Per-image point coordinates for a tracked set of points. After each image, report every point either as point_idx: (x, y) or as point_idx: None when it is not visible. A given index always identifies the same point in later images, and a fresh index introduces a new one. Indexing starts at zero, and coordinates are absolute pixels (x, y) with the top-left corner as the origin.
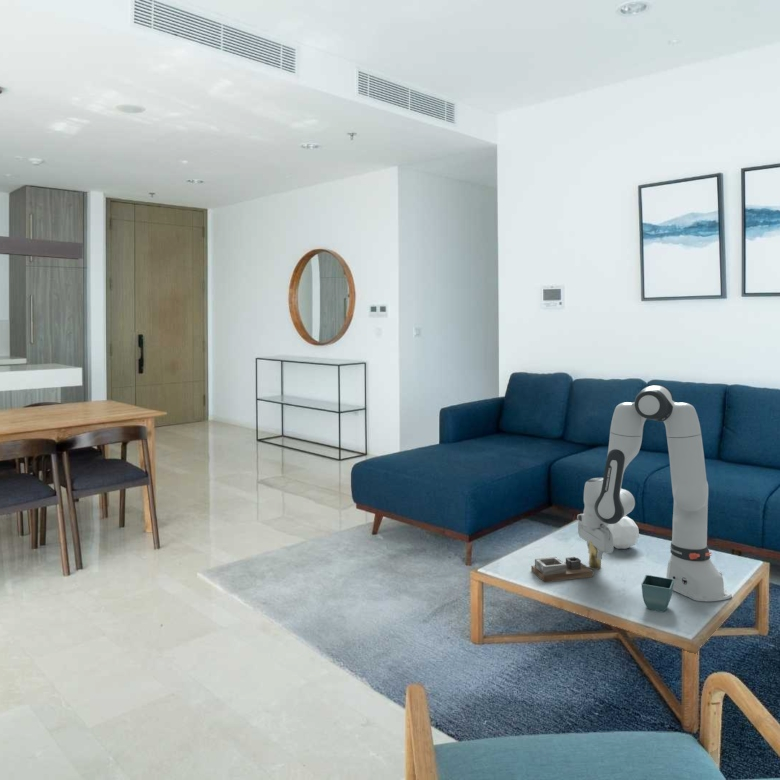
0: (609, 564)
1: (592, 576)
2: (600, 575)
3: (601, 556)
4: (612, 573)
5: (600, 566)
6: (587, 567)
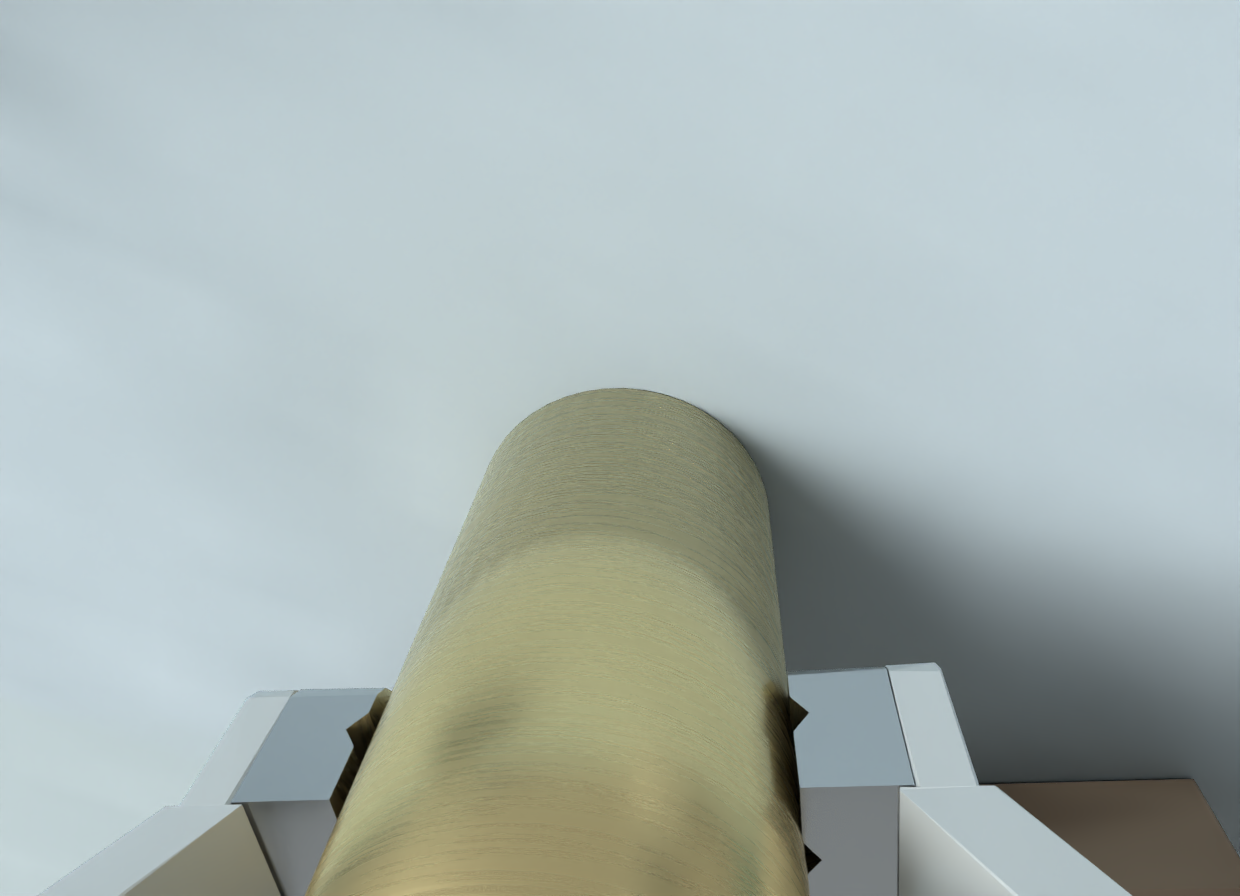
0: (463, 43)
1: (1194, 792)
2: (1189, 614)
3: (959, 750)
4: (1196, 276)
5: (729, 452)
6: None
